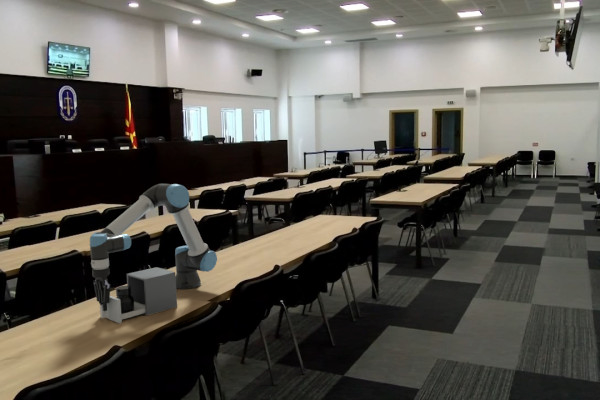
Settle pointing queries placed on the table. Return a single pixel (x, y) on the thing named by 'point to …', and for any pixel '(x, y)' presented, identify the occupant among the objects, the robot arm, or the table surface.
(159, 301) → the cubby
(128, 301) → the ink bottle
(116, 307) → the light grey drawer
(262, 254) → the table surface
